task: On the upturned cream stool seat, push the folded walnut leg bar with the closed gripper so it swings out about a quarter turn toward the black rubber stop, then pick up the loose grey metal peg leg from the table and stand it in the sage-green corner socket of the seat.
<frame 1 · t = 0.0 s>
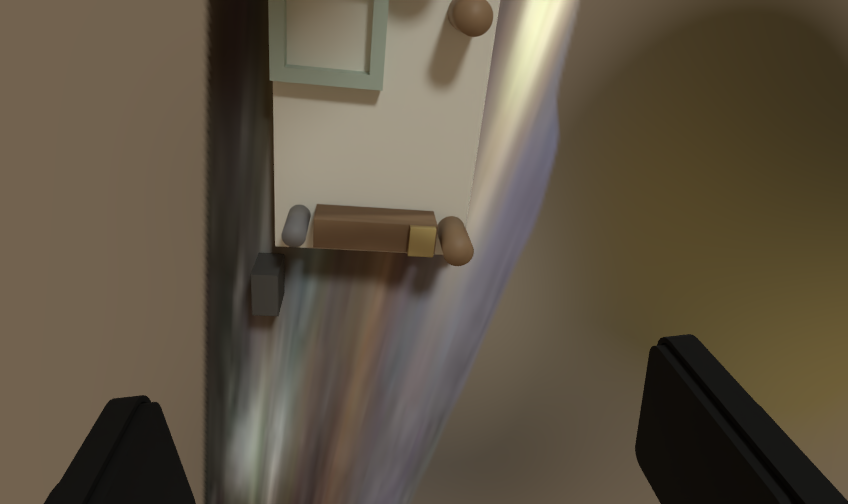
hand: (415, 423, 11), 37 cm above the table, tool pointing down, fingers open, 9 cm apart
seat board: (378, 116, 45), on the table
hinged leg: (375, 230, 44), point 5 cm above the table, hinge at 0.0°
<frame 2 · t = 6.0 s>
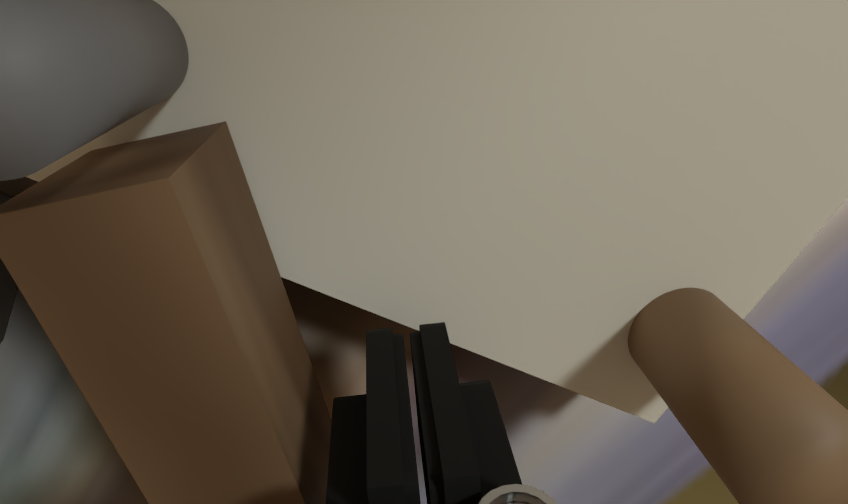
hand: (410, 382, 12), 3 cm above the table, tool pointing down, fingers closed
hinged leg: (229, 415, 10), point 5 cm above the table, hinge at -51.1°, touching gripper
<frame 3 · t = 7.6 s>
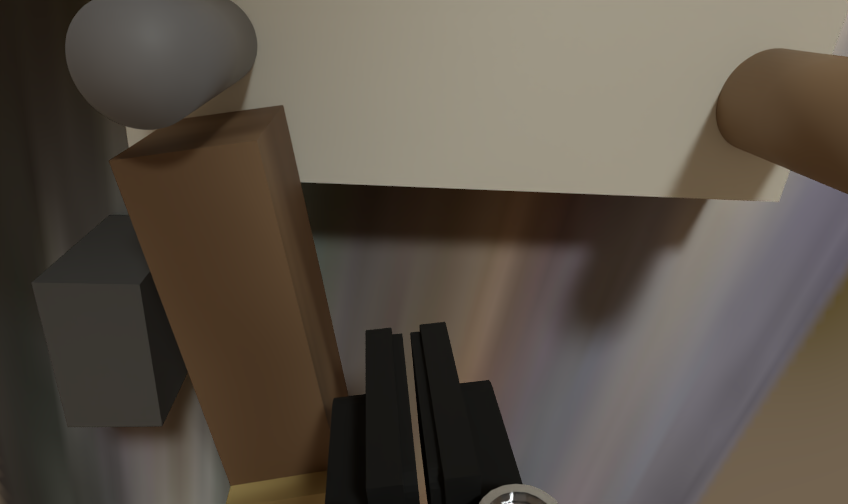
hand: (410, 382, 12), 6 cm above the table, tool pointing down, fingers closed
hinged leg: (266, 346, 12), point 5 cm above the table, hinge at -79.1°
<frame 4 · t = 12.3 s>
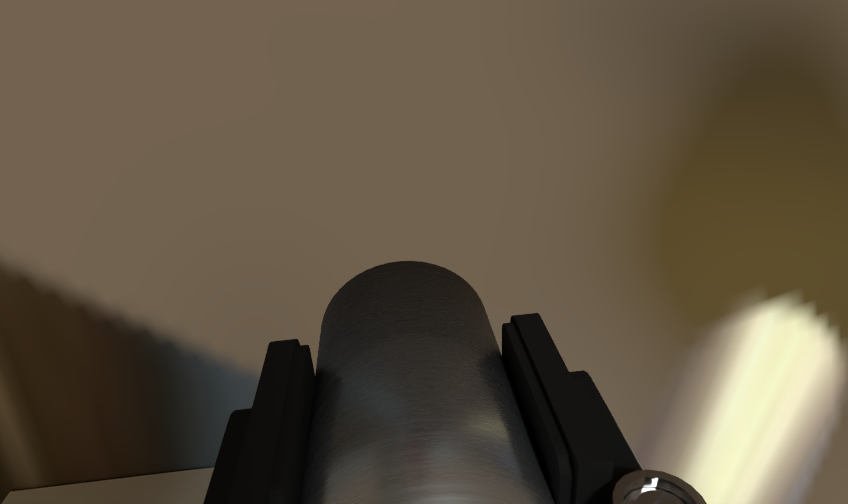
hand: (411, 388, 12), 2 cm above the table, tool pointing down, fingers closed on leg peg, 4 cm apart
leg peg: (405, 334, 13), on the table, touching gripper
when the fingers open (5 cm above the table, at t = 16.4 s): leg peg stays where it is, resting on seat board.
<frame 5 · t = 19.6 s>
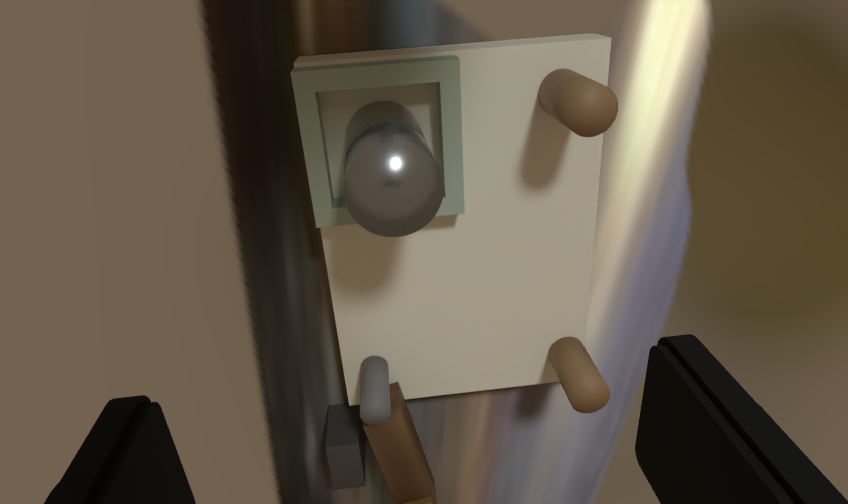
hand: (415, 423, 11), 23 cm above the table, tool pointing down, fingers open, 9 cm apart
leg peg: (383, 139, 29), point 3 cm above the table, touching seat board
seat board: (455, 230, 35), on the table
hinged leg: (401, 459, 37), point 5 cm above the table, hinge at -79.1°
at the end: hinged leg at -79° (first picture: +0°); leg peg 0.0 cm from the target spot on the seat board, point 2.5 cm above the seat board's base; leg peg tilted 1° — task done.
